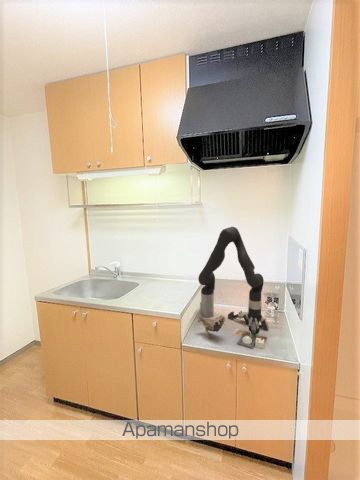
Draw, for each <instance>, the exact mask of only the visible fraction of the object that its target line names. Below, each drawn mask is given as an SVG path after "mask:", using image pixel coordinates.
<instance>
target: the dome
mask: <svg viewBox="0 0 360 480" xmlns="http://www.w3.org/2000/svg"><path fill="white" fill-rule="evenodd" d="M242 343H244V344H248V345H251V344H252V339H251V338H250V337H249V336H245V337H243V341H242Z"/></svg>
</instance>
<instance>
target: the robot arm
mask: <svg viewBox="0 0 360 480" xmlns="http://www.w3.org/2000/svg"><path fill="white" fill-rule="evenodd" d="M231 243H233V244H234V245H235V249H236V254H237V261H238V263H239V265H240V267H241V269H242V270H243V273H244V276H245V280H246V282H247V284H248V286H250V287H251V288H250V290H249V292H248V293H249V294H248V306H247V307H248V311H247V312H248V314H244V316H243V317H244V318H243V320H244V322H245V325H247V326H248V332H250V333H251V323H252V321H254V322H256V325H257V330H256V334H258V335H259V333H260V329H263V325H264V323H265V321H267V319H266V318H264V317H263V315H262V305H263V304H262V291H263V286H264V277H263V275H262V274H261V273H258V272H257V273H255V268H256V267H255V265H254V263H253V261H252V260H251V257H250V256H249V254H248V252H247V249H246V246H245V244H244V241H243V238H242V235H241V233H240V231H239V229H238V228H237V227H235V226H230V227H227V228H223V229H222V230H221V231H220V233H219V235H218V238H217V241H216V244H215V246H214V247H213V250H212V251H211V253H210V255H209V257H208V259H207V262H206V263H205V265H204V267H203V269H202V270H201V271H200V273H199V275H198V282H199V285H201V286H203V287H202V288H201V290H200V297H201V298H200V302H199V307H200V309H199V315H201V316H202V317H204V318H210V317H214V316H215V315H214V312H215V308H214V307H215V306H214V305H215V304H214V302H215V301H214V299H215V297H214V295H215V293H214V291H215V287H216V286H215V285H216V276H215V274H214V271H216V270H217V269H218V268H219V267H221V265H222V264H223V262H224V260H225V258H226V254H225V253H226V252H225V251H226V249H227V247H228V246H229V244H231ZM261 315H262V316H261ZM248 317H249V319H250V322H249V321H248ZM262 317H263V318H264V319H263V318H262ZM260 320H262V324H260V323H261V322H259V321H260Z"/></svg>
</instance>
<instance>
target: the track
mask: <svg viewBox="0 0 360 480" xmlns="http://www.w3.org/2000/svg"><path fill="white" fill-rule="evenodd" d="M232 333H233V334H235V335H239V336H241V337H242V336H249V337H250V338H253V339H256V338H261V339H264V343H266V342H267V340H268V338H269V337H268V336H264V335H260V334H259V333H258V334H257V335H255V336H254V335H252V334H251V332H250V331H247V330H243V329H239V328H236V329H235V330H234V331H233V332H232Z"/></svg>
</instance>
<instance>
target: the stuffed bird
mask: <svg viewBox="0 0 360 480" xmlns="http://www.w3.org/2000/svg"><path fill="white" fill-rule="evenodd" d="M225 321H226V316H225V315H223V314H220V315H219V316H216V317H215V318H213V319H212V318H203V317H200V316H198V319H197V322H198V323H199V324H201V325H203V326H204V328H205V332H206V333H207V335H208V337H209V339H210V340H211V339H215V338H214V337H212V333H210V332H216V333H217V332H219V331H220V330H221V329H222V326H223V325H224V326H226V324H225V323H224V322H225Z"/></svg>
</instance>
